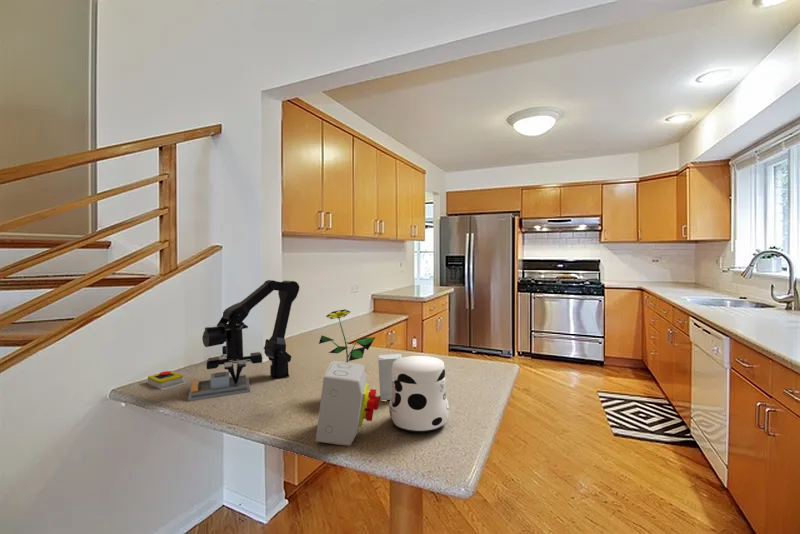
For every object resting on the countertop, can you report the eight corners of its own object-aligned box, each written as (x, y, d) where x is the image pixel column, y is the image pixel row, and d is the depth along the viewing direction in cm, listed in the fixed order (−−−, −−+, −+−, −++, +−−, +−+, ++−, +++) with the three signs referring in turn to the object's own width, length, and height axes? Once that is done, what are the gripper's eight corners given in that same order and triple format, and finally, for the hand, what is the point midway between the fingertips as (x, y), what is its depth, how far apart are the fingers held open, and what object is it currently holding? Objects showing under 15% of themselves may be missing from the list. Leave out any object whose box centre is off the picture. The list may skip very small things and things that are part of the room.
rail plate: (248, 380, 151) (248, 370, 151) (250, 391, 139) (249, 380, 139) (191, 388, 143) (191, 378, 143) (187, 401, 131) (187, 389, 131)
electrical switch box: (371, 454, 99) (381, 379, 98) (314, 446, 99) (324, 371, 98) (375, 428, 113) (384, 362, 113) (326, 421, 114) (334, 355, 113)
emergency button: (169, 366, 158) (187, 373, 149) (170, 377, 158) (188, 384, 150) (144, 372, 151) (161, 380, 142) (145, 383, 151) (162, 391, 142)
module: (229, 384, 144) (228, 370, 144) (229, 389, 139) (228, 375, 138) (211, 387, 142) (211, 372, 141) (211, 392, 136) (210, 377, 136)
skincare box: (403, 394, 134) (402, 353, 133) (404, 401, 128) (403, 357, 127) (379, 395, 134) (378, 353, 133) (379, 402, 127) (378, 358, 127)
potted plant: (315, 395, 134) (313, 311, 133) (365, 387, 141) (364, 307, 140) (326, 415, 118) (323, 319, 116) (382, 405, 125) (381, 314, 124)
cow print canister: (460, 422, 112) (459, 361, 111) (424, 444, 99) (423, 376, 98) (415, 406, 124) (414, 351, 123) (377, 425, 111) (376, 364, 110)
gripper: (259, 334, 153) (260, 373, 153) (207, 340, 145) (208, 380, 146) (261, 340, 143) (262, 381, 143) (205, 346, 135) (207, 389, 136)
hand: (235, 383), depth 142 cm, fingers closed
